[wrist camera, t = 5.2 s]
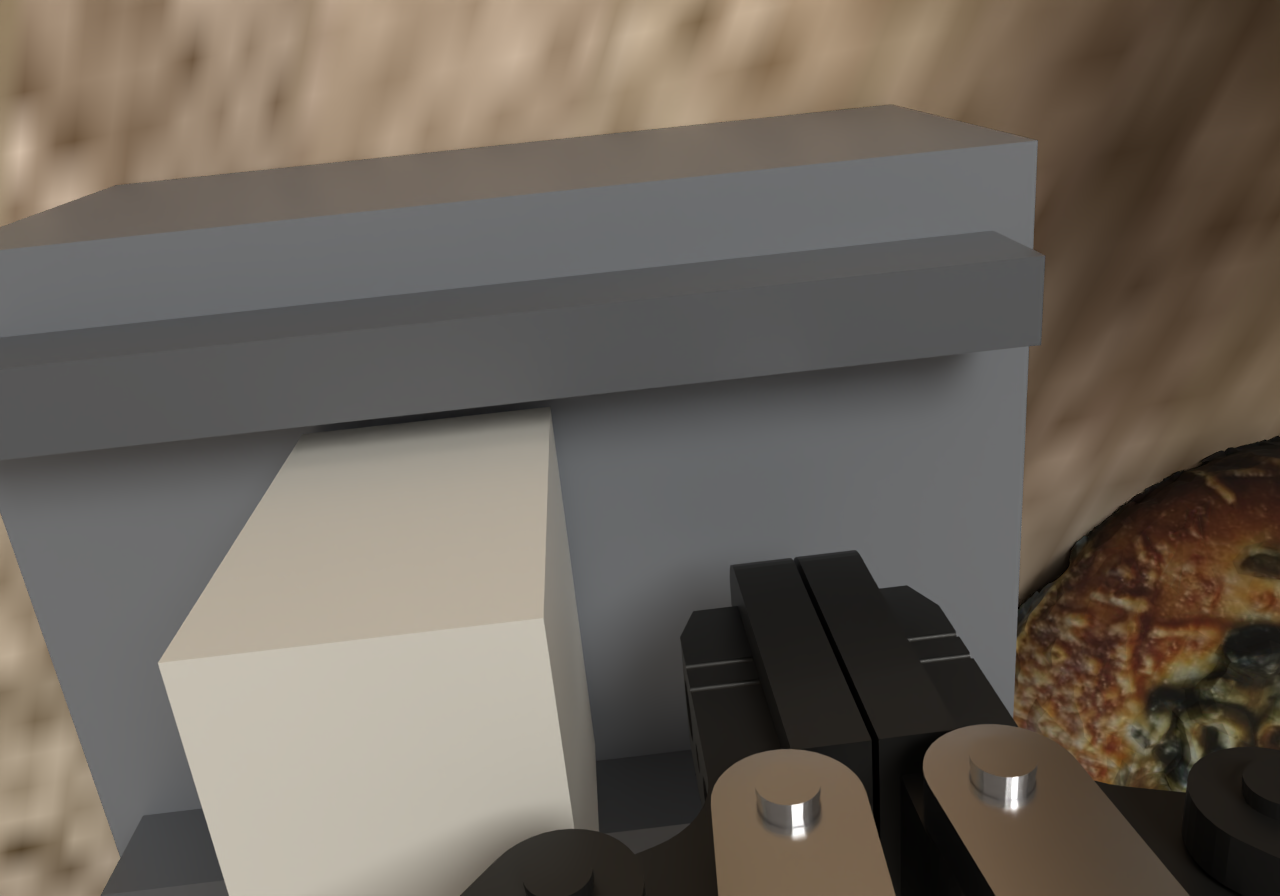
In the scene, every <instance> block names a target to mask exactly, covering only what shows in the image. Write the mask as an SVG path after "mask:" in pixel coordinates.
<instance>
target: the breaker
mask: <svg viewBox="0 0 1280 896" xmlns="http://www.w3.org/2000/svg"><path fill="white" fill-rule="evenodd" d="M158 665H159V669H160V672H161V675H162V678H163V682H164V685H165V688H166V691H167V695H168V698H169V701H170V704H171V708H172V711H173V714H174V718H175V721H176V724H177V727H178V731H179V734H180V737H181V740H182V744H183V747H184V750H185V753H186V757H187V760H188V763H189V767H190V770H191V773H192V776H193V780H194V783H195V786H196V789H197V793H198V796H199V799H200V803H201V806H202V809H203V812H204V816H205V819H206V822H207V825H208V829H209V832H210V835H211V838H212V842H213V845H214V848H215V852H216V855H217V858H218V861H219V865H220V868H221V871H222V874H223V878H224V881H225V884H226V888H227V891H228V894H229V896H460V895H461V894H462V893H463V892H464V891H465V890H466V889H467V888H468V887H469V886H470V885H471V884H472V883H473V882H474V881H475V880H476V879H477V878H478V877H479V876H480V875H481V874H482V873H483V872H484V871H485V870H486V869H487V868H488V867H489V866H490V865H491V864H492V863H493V862H494V861H495V860H496V859H498V858H499V857H500V856H501V855H502V854H503V853H505V852H506V851H507V850H509V849H510V848H512V847H513V846H515V845H516V844H518V843H520V842H522V841H524V840H526V839H528V838H530V837H533V836H536V835H539V834H542V833H545V832H550V831H555V830H562V829H587V830H592V831H598V832H599V821H598V799H597V777H596V755H595V741H594V733H593V726H592V718H591V711H590V703H589V696H588V688H587V681H586V673H585V666H584V658H583V650H582V643H581V635H580V628H579V620H578V613H577V605H576V598H575V590H574V583H573V575H572V568H571V560H570V553H569V545H568V537H567V530H566V522H565V515H564V507H563V500H562V492H561V485H560V477H559V470H558V462H557V455H556V447H555V439H554V432H553V424H552V417H551V409H550V407H543V408H534V409H525V410H516V411H507V412H498V413H489V414H480V415H471V416H462V417H453V418H444V419H435V420H426V421H417V422H408V423H399V424H390V425H381V426H372V427H363V428H354V429H345V430H336V431H327V432H318V433H309V434H302V436H301V437H300V439H299V441H298V442H297V444H296V445H295V447H294V448H293V450H292V452H291V453H290V455H289V456H288V458H287V459H286V461H285V463H284V464H283V466H282V467H281V469H280V471H279V472H278V474H277V475H276V477H275V478H274V480H273V482H272V483H271V485H270V486H269V488H268V490H267V491H266V493H265V494H264V496H263V497H262V499H261V501H260V502H259V504H258V505H257V507H256V509H255V510H254V512H253V513H252V515H251V516H250V518H249V520H248V521H247V523H246V524H245V526H244V528H243V529H242V531H241V532H240V534H239V535H238V537H237V539H236V540H235V542H234V543H233V545H232V546H231V548H230V550H229V551H228V553H227V554H226V556H225V558H224V559H223V561H222V562H221V564H220V565H219V567H218V569H217V570H216V572H215V573H214V575H213V577H212V578H211V580H210V581H209V583H208V584H207V586H206V588H205V589H204V591H203V592H202V594H201V596H200V597H199V599H198V600H197V602H196V603H195V605H194V607H193V608H192V610H191V611H190V613H189V615H188V616H187V618H186V619H185V621H184V622H183V624H182V626H181V627H180V629H179V630H178V632H177V634H176V635H175V637H174V638H173V640H172V641H171V643H170V645H169V646H168V648H167V649H166V651H165V652H164V654H163V656H162V657H161V659H160V660H159V662H158Z"/></svg>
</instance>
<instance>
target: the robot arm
mask: <svg viewBox="0 0 1280 896" xmlns="http://www.w3.org/2000/svg"><path fill="white" fill-rule="evenodd" d="M730 591H731V605H732V607H723V608H715V609H707V610H698V611H693V612H692V614H691V616H690V618H689V620H688V622H687V624H686V626H685V628H684V630H683V632H682V634H681V636H680V642H681V653H682V663H683V674H684V684H685V695H686V705H687V716H688V726H689V736H690V746H691V751H692V757H693V762H694V768H695V773H696V778H697V784H698V790H699V795H700V800H701V806H702V809H701V811H700V812H699V814H698V815H697V817H696V818H695V819H694V820H693V821H692V822H691V823H690V825H688V826H687V827H686V828H685V829H684V830H682V831H681V832H680V833H679V834H677V835H675V836H674V837H672V838H671V839H669V840H667V841H665V842H663V843H661V844H659V845H656V846H654V847H652V848H649V849H647V850H644V851H642V852H639V853H637V854H634V853H633V852H632V851H631V850H630V848H629V847H627V846H626V845H625V844H623V843H622V842H621V841H620V840H618V839H616V838H614V837H612V836H610V835H607V834H604V833H601V832H598V831H592V830H587V829H562V830H555V831H550V832H545V833H542V834H539V835H536V836H533V837H530V838H528V839H526V840H524V841H522V842H520V843H518V844H516V845H515V846H513V847H512V848H510V849H509V850H507V851H506V852H505V853H503V854H502V855H501V856H500V857H499V858H498V859H496V860H495V861H494V862H493V863H492V864H491V865H490V866H489V867H488V868H487V869H486V870H485V871H484V872H483V873H482V874H481V875H480V876H479V877H478V878H477V879H476V880H475V881H474V882H473V883H472V884H471V885H470V886H469V887H468V888H467V889H466V890H465V891H464V892H463V893H462V894H461V895H460V896H1280V750H1276V749H1269V748H1261V747H1233V748H1227V749H1221V750H1218V751H1215V752H1212V753H1210V754H1208V755H1206V756H1204V757H1202V758H1201V759H1199V760H1198V761H1197V762H1196V763H1195V764H1194V765H1193V767H1192V768H1191V770H1190V771H1189V775H1188V779H1187V787H1186V792H1176V791H1166V790H1156V789H1146V788H1136V787H1126V786H1119V785H1112V784H1107V783H1103V782H1099V781H1094V780H1093V779H1092V778H1091V776H1090V775H1089V774H1088V773H1087V772H1086V770H1085V769H1084V768H1083V767H1082V766H1081V764H1080V763H1079V762H1078V761H1077V760H1076V758H1075V757H1074V756H1073V755H1072V754H1071V753H1070V752H1069V751H1068V750H1066V749H1065V748H1064V747H1062V746H1061V745H1060V744H1058V743H1056V742H1055V741H1053V740H1051V739H1049V738H1048V737H1045V736H1043V735H1041V734H1038V733H1036V732H1033V731H1030V730H1026V729H1023V728H1019V727H1018V726H1017V724H1016V722H1015V721H1014V719H1013V718H1012V716H1011V715H1010V713H1009V712H1008V710H1007V709H1006V707H1005V706H1004V704H1003V703H1002V701H1001V699H1000V698H999V696H998V695H997V693H996V692H995V690H994V689H993V687H992V686H991V684H990V683H989V681H988V680H987V678H986V677H985V675H984V673H983V672H982V670H981V669H980V667H979V666H978V664H977V663H976V661H975V660H974V658H971V657H970V652H969V650H968V649H967V647H966V646H965V644H964V643H963V641H962V640H961V638H960V637H959V636H958V637H957V635H956V631H955V629H954V628H953V626H952V624H951V623H950V621H949V620H948V618H947V617H946V615H945V614H944V612H943V611H942V609H941V608H940V606H939V605H938V604H936V603H934V602H933V601H931V600H930V599H928V598H926V597H925V596H923V595H922V594H920V593H919V592H917V591H915V590H914V589H912V588H911V587H909V586H907V585H905V586H897V587H888V588H880V589H879V587H878V586H877V584H876V582H875V580H874V579H873V577H872V575H871V573H870V572H869V570H868V568H867V566H866V565H865V563H864V561H863V559H862V557H861V556H860V554H859V553H858V551H856V550H850V551H842V552H833V553H825V554H816V555H808V556H799V557H795V558H794V560H793V559H792V558H784V559H776V560H767V561H759V562H751V563H742V564H734V565H731V566H730Z"/></svg>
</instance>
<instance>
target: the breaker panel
mask: <svg viewBox="0 0 1280 896" xmlns="http://www.w3.org/2000/svg"><path fill="white" fill-rule="evenodd" d="M1037 147H1038V140H1034V139H1030V138H1026V137H1021V136H1017V135H1013V134H1009V133H1005V132H1001V131H997V130H993V129H989V128H985V127H981V126H977V125H973V124H969V123H965V122H961V121H957V120H953V119H948V118H944V117H940V116H936V115H932V114H928V113H924V112H920V111H916V110H912V109H908V108H904V107H900V106H896V105H883V106H873V107H863V108H854V109H844V110H835V111H825V112H815V113H806V114H796V115H787V116H777V117H767V118H758V119H748V120H739V121H729V122H719V123H710V124H700V125H691V126H681V127H671V128H662V129H652V130H643V131H633V132H623V133H614V134H604V135H595V136H585V137H575V138H566V139H556V140H547V141H537V142H527V143H518V144H508V145H499V146H489V147H479V148H470V149H460V150H451V151H441V152H431V153H422V154H412V155H403V156H393V157H383V158H374V159H364V160H355V161H345V162H335V163H326V164H316V165H307V166H297V167H287V168H278V169H268V170H259V171H249V172H239V173H230V174H220V175H211V176H201V177H191V178H182V179H172V180H163V181H153V182H143V183H134V184H124V185H115V186H113V187H110V188H107V189H104V190H102V191H99V192H96V193H93V194H91V195H88V196H85V197H82V198H80V199H77V200H74V201H71V202H68V203H66V204H63V205H60V206H57V207H55V208H52V209H49V210H46V211H44V212H41V213H38V214H35V215H33V216H30V217H27V218H24V219H22V220H19V221H16V222H13V223H11V224H8V225H5V226H2V227H0V513H1V516H2V519H3V522H4V525H5V527H6V530H7V533H8V536H9V539H10V542H11V545H12V548H13V550H14V553H15V556H16V559H17V562H18V565H19V568H20V570H21V573H22V576H23V579H24V582H25V585H26V588H27V591H28V593H29V596H30V599H31V602H32V605H33V608H34V611H35V614H36V616H37V619H38V622H39V625H40V628H41V631H42V634H43V636H44V639H45V642H46V645H47V648H48V651H49V654H50V657H51V659H52V662H53V665H54V668H55V671H56V674H57V677H58V679H59V682H60V685H61V688H62V691H63V694H64V697H65V700H66V702H67V705H68V708H69V711H70V714H71V717H72V720H73V723H74V725H75V728H76V731H77V734H78V737H79V740H80V743H81V745H82V748H83V751H84V754H85V757H86V760H87V763H88V766H89V768H90V771H91V774H92V777H93V780H94V783H95V786H96V788H97V791H98V794H99V797H100V800H101V803H102V806H103V809H104V811H105V814H106V817H107V820H108V823H109V826H110V829H111V832H112V834H113V837H114V840H115V843H116V846H117V849H118V852H119V854H120V857H121V858H120V860H119V862H118V864H117V866H116V868H115V870H114V871H113V873H112V875H111V877H110V879H109V881H108V883H107V885H106V887H105V888H104V890H103V892H102V894H101V896H229V894H228V891H227V888H226V884H225V881H224V878H223V874H222V871H221V868H220V865H219V861H218V858H217V855H216V852H215V848H214V845H213V842H212V838H211V835H210V832H209V829H208V825H207V822H206V819H205V816H204V812H203V809H202V806H201V803H200V799H199V796H198V793H197V789H196V786H195V783H194V780H193V776H192V773H191V770H190V767H189V763H188V760H187V757H186V753H185V750H184V747H183V744H182V740H181V737H180V734H179V731H178V727H177V724H176V721H175V718H174V714H173V711H172V708H171V704H170V701H169V698H168V695H167V691H166V688H165V685H164V682H163V678H162V675H161V672H160V669H159V665H158V662H159V660H160V659H161V657H162V656H163V654H164V652H165V651H166V649H167V648H168V646H169V645H170V643H171V641H172V640H173V638H174V637H175V635H176V634H177V632H178V630H179V629H180V627H181V626H182V624H183V622H184V621H185V619H186V618H187V616H188V615H189V613H190V611H191V610H192V608H193V607H194V605H195V603H196V602H197V600H198V599H199V597H200V596H201V594H202V592H203V591H204V589H205V588H206V586H207V584H208V583H209V581H210V580H211V578H212V577H213V575H214V573H215V572H216V570H217V569H218V567H219V565H220V564H221V562H222V561H223V559H224V558H225V556H226V554H227V553H228V551H229V550H230V548H231V546H232V545H233V543H234V542H235V540H236V539H237V537H238V535H239V534H240V532H241V531H242V529H243V528H244V526H245V524H246V523H247V521H248V520H249V518H250V516H251V515H252V513H253V512H254V510H255V509H256V507H257V505H258V504H259V502H260V501H261V499H262V497H263V496H264V494H265V493H266V491H267V490H268V488H269V486H270V485H271V483H272V482H273V480H274V478H275V477H276V475H277V474H278V472H279V471H280V469H281V467H282V466H283V464H284V463H285V461H286V459H287V458H288V456H289V455H290V453H291V452H292V450H293V448H294V447H295V445H296V444H297V442H298V441H299V439H300V437H301V436H302V434H309V433H318V432H327V431H336V430H345V429H354V428H363V427H372V426H381V425H390V424H399V423H408V422H417V421H426V420H435V419H444V418H453V417H462V416H471V415H480V414H489V413H498V412H507V411H516V410H525V409H534V408H543V407H550V409H551V417H552V424H553V432H554V439H555V447H556V455H557V462H558V470H559V477H560V485H561V492H562V500H563V507H564V515H565V522H566V530H567V537H568V545H569V553H570V560H571V568H572V575H573V583H574V590H575V598H576V605H577V613H578V620H579V628H580V635H581V643H582V650H583V658H584V666H585V673H586V681H587V688H588V696H589V703H590V711H591V718H592V726H593V733H594V741H595V755H596V777H597V799H598V821H599V832H601V833H604V834H607V835H610V836H612V837H614V838H616V839H618V840H620V841H621V842H622V843H623V844H625V845H626V846H627V847H629V848H630V850H631V851H632V852H633V853H634V854H637V853H639V852H642V851H644V850H647V849H649V848H652V847H654V846H656V845H659V844H661V843H663V842H665V841H667V840H669V839H671V838H672V837H674V836H675V835H677V834H679V833H680V832H681V831H682V830H684V829H685V828H686V827H687V826H688V825H690V823H691V822H692V821H693V820H694V819H695V818H696V817H697V815H698V814H699V812H700V811H701V809H702V806H701V800H700V795H699V790H698V784H697V778H696V773H695V768H694V762H693V757H692V751H691V746H690V736H689V726H688V716H687V705H686V695H685V684H684V674H683V663H682V653H681V642H680V636H681V634H682V632H683V630H684V628H685V626H686V624H687V622H688V620H689V618H690V616H691V614H692V612H693V611H698V610H707V609H715V608H723V607H732V605H731V591H730V566H731V565H734V564H742V563H751V562H759V561H767V560H776V559H784V558H792V559H793V560H794V558H795V557H799V556H808V555H816V554H825V553H833V552H842V551H850V550H856V551H858V553H859V554H860V556H861V557H862V559H863V561H864V563H865V565H866V566H867V568H868V570H869V572H870V573H871V575H872V577H873V579H874V580H875V582H876V584H877V586H878V587H879V589H880V588H888V587H897V586H905V585H907V586H909V587H911V588H912V589H914V590H915V591H917V592H919V593H920V594H922V595H923V596H925V597H926V598H928V599H930V600H931V601H933V602H934V603H936V604H938V605H939V606H940V608H941V609H942V611H943V612H944V614H945V615H946V617H947V618H948V620H949V621H950V623H951V624H952V626H953V628H954V629H955V631H956V635H957V637H958V636H959V637H960V638H961V640H962V641H963V643H964V644H965V646H966V647H967V649H968V650H969V652H970V657H971V658H974V660H975V661H976V663H977V664H978V666H979V667H980V669H981V670H982V672H983V673H984V675H985V677H986V678H987V680H988V681H989V683H990V684H991V686H992V687H993V689H994V690H995V692H996V693H997V695H998V696H999V698H1000V699H1001V701H1002V703H1003V704H1004V706H1005V707H1006V709H1007V710H1008V712H1009V713H1010V715H1011V716H1012V718H1013V711H1014V687H1015V664H1016V640H1017V617H1018V593H1019V570H1020V546H1021V523H1022V499H1023V476H1024V452H1025V429H1026V405H1027V382H1028V358H1029V346H1036V345H1041V335H1042V314H1043V292H1044V271H1045V255H1043V254H1041V253H1039V252H1037V251H1035V250H1033V241H1034V217H1035V194H1036V170H1037Z"/></svg>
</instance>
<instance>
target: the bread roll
mask: <svg viewBox="0 0 1280 896" xmlns="http://www.w3.org/2000/svg"><path fill="white" fill-rule="evenodd" d="M1206 461H1209V463H1207V464H1205V465H1203V466H1201V467H1198V468H1196V469H1193V470H1187V471H1184V470H1183V471H1181V472H1176V473H1175V474H1174V475H1172V476H1170V477H1167V478H1165V479H1164V481H1163V482H1160V483H1158V484H1155V485H1153V486H1151V487H1149V488H1147V489H1145V492H1144V493H1141V494H1137V495H1136V496H1135V497H1134V498H1133V499H1132V500H1131V501H1130V502H1129V503H1127V504H1126V505H1122V506H1121V507H1120V509H1119V510H1118V511H1117V512H1114V513H1113V515H1112V516H1110V517H1108V518H1107V519H1106V520H1105V521H1104V522H1103V523H1102V524H1101V525H1100V526H1096V527H1095V530H1094V531H1091V532H1090V533H1089V537H1086V536H1084V537H1083V538H1082V539H1081V540H1079V541H1077V542H1076V544H1075V546H1074V548H1073V549H1072V550H1071V556H1070V559H1069V561H1070V565H1069V568H1068V569H1067V570H1066V571H1065V572H1064V573H1063V574H1062V575H1061V576H1060V577H1059V578H1058V579H1057V580H1056V581H1054V582H1052V583H1049V584H1047V585H1046V586H1045V587H1043V589H1042V590H1041V591H1040V593H1039V592H1037V591H1036V592H1035V593H1034V594H1033V595H1032V597H1031V598H1028V599H1027V601H1026V603H1025V604H1022V605H1021V606H1020V609H1019V610H1018V617H1017V640H1016V664H1015V687H1014V711H1013V719H1014V721H1015V722H1016V724H1017V726H1018V727H1019V728H1023V729H1026V730H1030V731H1033V732H1036V733H1038V734H1041V735H1043V736H1045V737H1048V738H1049V739H1051V740H1053V741H1055V742H1056V743H1058V744H1060V745H1061V746H1062V747H1064V748H1065V749H1066V750H1068V751H1069V752H1070V753H1071V754H1072V755H1073V756H1074V757H1075V758H1076V760H1077V761H1078V762H1079V763H1080V764H1081V766H1082V767H1083V768H1084V769H1085V770H1086V772H1087V773H1088V774H1089V775H1090V776H1091V778H1092V779H1093V780H1094V781H1099V782H1103V783H1107V784H1112V785H1119V786H1126V787H1136V788H1146V789H1156V790H1166V791H1176V792H1186V787H1187V779H1188V775H1189V771H1190V770H1191V768H1192V767H1193V765H1194V764H1195V763H1196V762H1197V761H1198V760H1199V759H1201V758H1202V757H1204V756H1206V755H1208V754H1210V753H1212V752H1215V751H1218V750H1221V749H1227V748H1233V747H1261V748H1269V749H1276V750H1280V437H1279V436H1277V437H1274V438H1272V439H1270V440H1268V441H1267V440H1264V441H1262V442H1256V443H1253V444H1248V445H1244V446H1240V447H1237V448H1228V449H1227V450H1226V451H1225V452H1224V451H1219V452H1217V453H1215V454H1213V455H1211V456H1209V457H1208V458H1206V459H1204V460H1202V463H1203V462H1206Z"/></svg>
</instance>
